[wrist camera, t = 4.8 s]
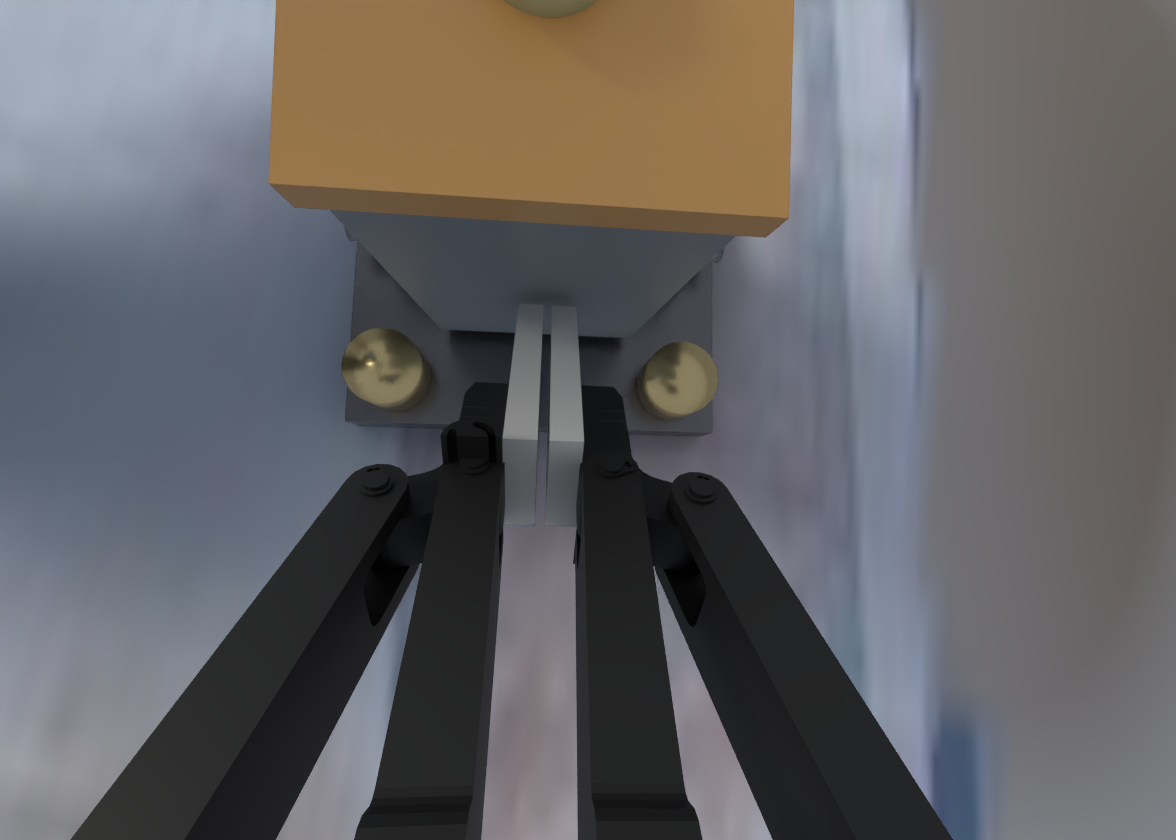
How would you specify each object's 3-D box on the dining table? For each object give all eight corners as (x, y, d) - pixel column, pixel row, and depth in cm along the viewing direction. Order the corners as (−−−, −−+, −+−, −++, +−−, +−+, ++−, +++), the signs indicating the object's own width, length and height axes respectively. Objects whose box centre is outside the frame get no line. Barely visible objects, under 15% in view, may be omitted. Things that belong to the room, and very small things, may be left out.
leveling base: (699, 436, 28) (765, 417, 20) (358, 425, 26) (284, 401, 18) (699, 127, 30) (760, -3, 22) (380, 101, 28) (321, -48, 20)
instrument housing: (636, 345, 25) (823, 189, 9) (433, 336, 24) (228, 145, 8) (644, 87, 25) (839, -529, 9) (443, 69, 24) (263, -638, 8)
